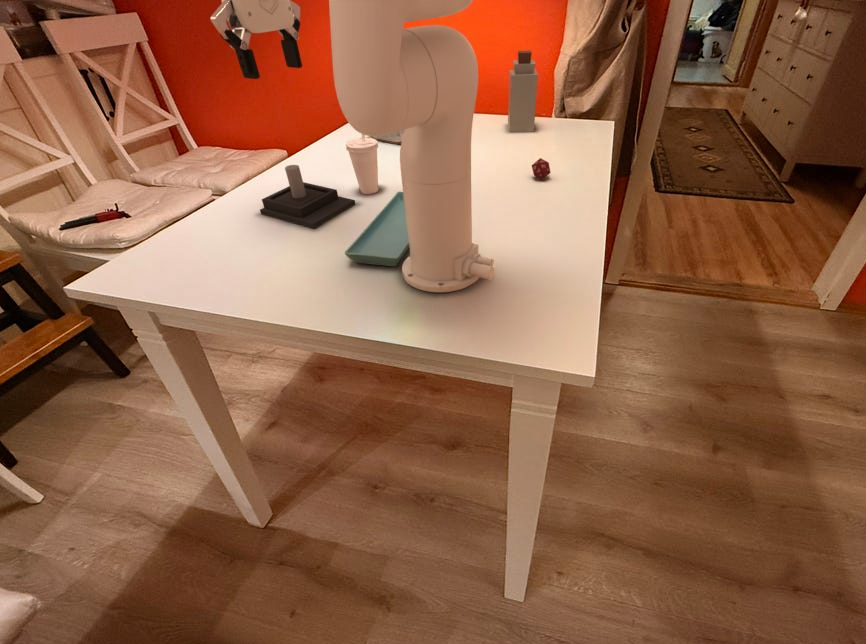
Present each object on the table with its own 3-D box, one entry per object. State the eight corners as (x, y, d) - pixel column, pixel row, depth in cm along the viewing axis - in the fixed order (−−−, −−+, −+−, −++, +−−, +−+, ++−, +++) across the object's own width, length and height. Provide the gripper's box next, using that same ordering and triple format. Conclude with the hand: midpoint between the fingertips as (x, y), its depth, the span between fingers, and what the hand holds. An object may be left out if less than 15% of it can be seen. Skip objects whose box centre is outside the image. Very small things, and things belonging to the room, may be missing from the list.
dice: (535, 183, 99) (536, 163, 96) (528, 175, 102) (530, 156, 99) (551, 181, 99) (553, 162, 97) (545, 173, 103) (546, 155, 100)
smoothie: (378, 197, 95) (367, 124, 86) (349, 195, 96) (335, 123, 87) (388, 185, 100) (378, 114, 90) (360, 183, 101) (348, 113, 91)
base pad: (355, 204, 93) (353, 191, 91) (314, 229, 85) (310, 214, 83) (304, 192, 98) (301, 179, 96) (261, 214, 90) (256, 200, 88)
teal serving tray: (398, 201, 93) (397, 188, 92) (442, 204, 92) (441, 191, 90) (345, 266, 75) (342, 253, 73) (399, 272, 73) (397, 258, 71)
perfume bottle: (533, 131, 126) (539, 53, 114) (509, 132, 126) (512, 54, 114) (531, 124, 131) (536, 49, 119) (507, 125, 131) (510, 49, 119)
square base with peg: (326, 199, 92) (318, 164, 88) (302, 213, 88) (291, 176, 83) (301, 193, 95) (291, 158, 90) (275, 206, 91) (264, 170, 86)
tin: (415, 144, 120) (412, 108, 115) (407, 147, 118) (404, 111, 113) (371, 135, 127) (366, 101, 121) (364, 139, 125) (358, 104, 119)
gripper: (205, -66, 60) (250, 84, 71) (299, -66, 71) (325, 64, 82) (168, -63, 63) (217, 81, 74) (265, -63, 74) (294, 62, 85)
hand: (274, 72), depth 78 cm, fingers open, 9 cm apart
